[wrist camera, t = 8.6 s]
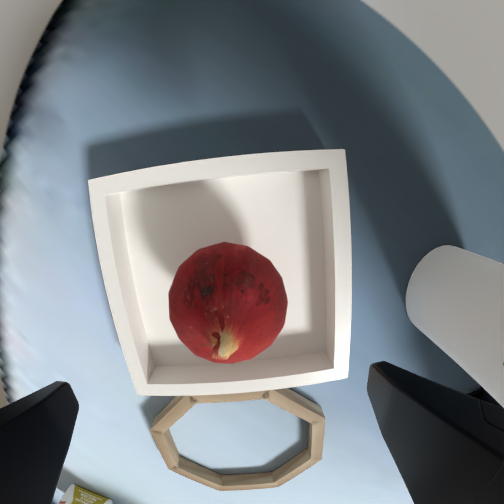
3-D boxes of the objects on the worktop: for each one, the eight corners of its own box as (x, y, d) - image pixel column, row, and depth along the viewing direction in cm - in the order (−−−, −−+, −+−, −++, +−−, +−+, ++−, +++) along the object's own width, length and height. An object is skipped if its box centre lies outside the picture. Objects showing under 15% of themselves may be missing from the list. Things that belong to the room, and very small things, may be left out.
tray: (328, 154, 17) (344, 149, 15) (335, 354, 20) (347, 377, 18) (109, 180, 17) (88, 180, 14) (148, 371, 20) (137, 395, 17)
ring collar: (322, 367, 21) (327, 379, 19) (316, 470, 24) (319, 480, 22) (140, 381, 20) (134, 393, 19) (181, 479, 23) (179, 489, 22)
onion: (169, 248, 18) (120, 294, 10) (262, 220, 17) (280, 246, 10) (201, 332, 19) (182, 416, 11) (287, 308, 19) (317, 384, 11)
